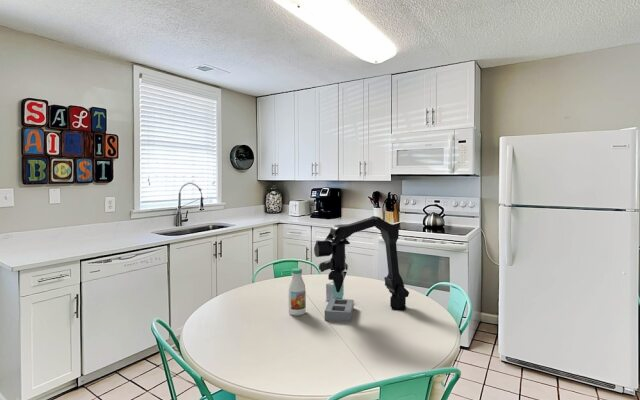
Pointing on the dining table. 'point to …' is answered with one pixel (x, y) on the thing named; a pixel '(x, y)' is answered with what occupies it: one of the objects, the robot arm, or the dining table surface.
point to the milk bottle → (296, 294)
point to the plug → (338, 294)
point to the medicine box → (329, 291)
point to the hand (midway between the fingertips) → (338, 290)
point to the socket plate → (339, 310)
